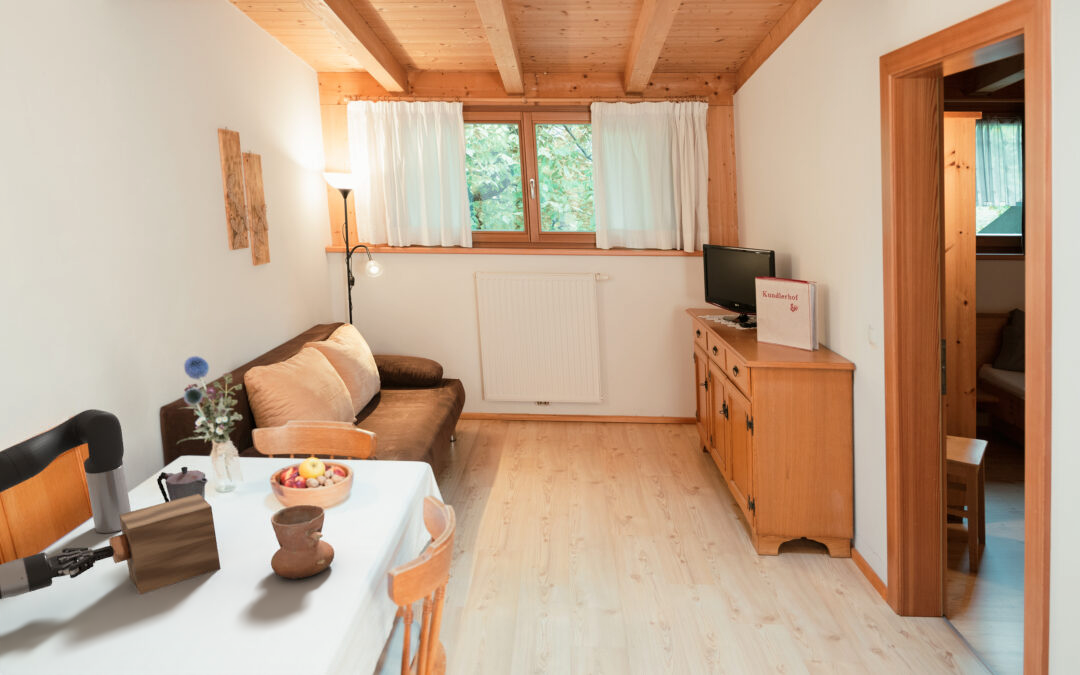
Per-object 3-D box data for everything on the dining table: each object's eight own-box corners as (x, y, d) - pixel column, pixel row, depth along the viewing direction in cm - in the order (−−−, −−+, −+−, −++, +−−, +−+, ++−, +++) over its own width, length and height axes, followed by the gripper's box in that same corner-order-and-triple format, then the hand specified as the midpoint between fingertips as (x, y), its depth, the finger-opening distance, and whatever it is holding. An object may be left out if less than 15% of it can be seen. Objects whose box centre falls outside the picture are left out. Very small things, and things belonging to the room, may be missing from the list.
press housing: (129, 577, 194) (119, 514, 190) (207, 553, 204) (198, 493, 201) (139, 594, 185) (128, 529, 182) (220, 568, 196) (211, 506, 192)
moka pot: (205, 548, 207) (194, 474, 203) (152, 545, 210) (140, 473, 206) (226, 531, 216) (216, 460, 212) (175, 529, 220) (164, 460, 216)
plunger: (112, 558, 188) (107, 534, 187) (206, 530, 201) (203, 507, 200) (117, 567, 184) (112, 542, 182) (213, 538, 196) (210, 514, 195)
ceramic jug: (350, 568, 192) (344, 511, 189) (296, 592, 182) (288, 532, 179) (309, 549, 204) (303, 495, 202) (256, 570, 194) (248, 514, 191)
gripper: (24, 570, 169) (115, 544, 179) (18, 549, 180) (104, 526, 190) (30, 603, 171) (120, 575, 181) (24, 580, 181) (109, 555, 191)
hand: (112, 550), depth 185 cm, fingers closed
